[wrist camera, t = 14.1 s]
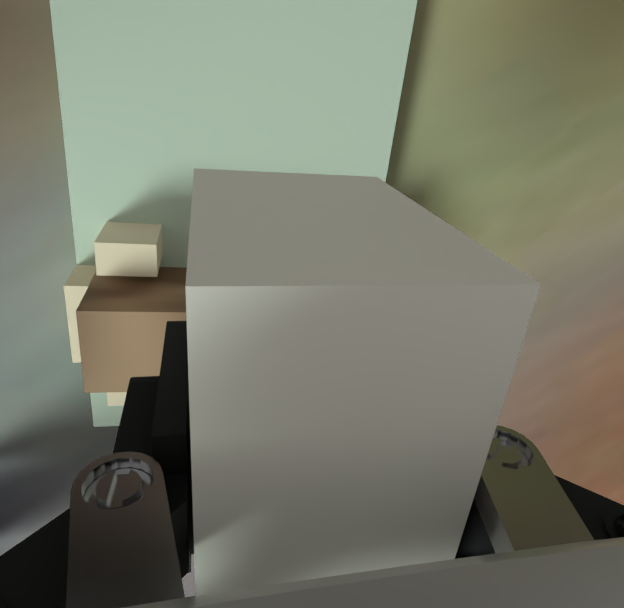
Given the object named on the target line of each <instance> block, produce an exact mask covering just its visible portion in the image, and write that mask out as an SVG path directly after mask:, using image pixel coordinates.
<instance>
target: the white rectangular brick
mask: <svg viewBox="0 0 624 608" xmlns="http://www.w3.org/2000/svg"><path fill="white" fill-rule="evenodd" d="M540 287H541V284H540V283H538V282H537V281H535V280H533V279H532V278H530V277H529V276H527V275H526V274H524V273H523V272H521V271H520V270H518V269H517V268H515V267H514V266H512V265H511V264H509V263H508V262H506V261H504V260H503V259H501V258H500V257H498V256H497V255H495V254H494V253H492V252H491V251H489V250H488V249H486V248H485V247H483V246H482V245H480V244H479V243H477V242H475V241H474V240H472V239H471V238H469V237H468V236H466V235H465V234H463V233H462V232H460V231H459V230H457V229H456V228H454V227H453V226H451V225H450V224H448V223H446V222H445V221H443V220H442V219H440V218H439V217H437V216H436V215H434V214H433V213H431V212H430V211H428V210H427V209H425V208H424V207H422V206H421V205H419V204H417V203H416V202H414V201H413V200H411V199H410V198H408V197H407V196H405V195H404V194H402V193H401V192H399V191H398V190H396V189H395V188H393V187H392V186H390V185H388V184H387V183H385V182H384V181H382V180H381V179H379V178H378V177H368V176H347V175H325V174H303V173H282V172H260V171H238V170H217V169H195V168H194V176H193V190H192V203H191V217H190V231H189V244H188V258H187V272H186V285H185V289H186V320H187V350H188V380H189V411H190V441H191V471H192V502H193V532H194V562H195V593H196V596H200V595H207V594H213V593H220V592H227V591H234V590H241V589H248V588H254V587H261V586H268V585H275V584H282V583H289V582H295V581H302V580H309V579H316V578H323V577H330V576H337V575H344V574H351V573H358V572H365V571H372V570H379V569H386V568H393V567H401V566H408V565H415V564H422V563H429V562H436V561H444V560H451V559H455V556H456V553H457V550H458V547H459V543H460V540H461V537H462V534H463V531H464V528H465V524H466V521H467V518H468V515H469V512H470V509H471V505H472V502H473V499H474V496H475V493H476V490H477V486H478V483H479V480H480V477H481V474H482V471H483V467H484V464H485V461H486V458H487V455H488V452H489V448H490V445H491V442H492V439H493V436H494V433H495V429H496V426H497V423H498V420H499V417H500V414H501V410H502V407H503V404H504V401H505V398H506V395H507V391H508V388H509V385H510V382H511V379H512V376H513V372H514V369H515V366H516V363H517V360H518V357H519V353H520V350H521V347H522V344H523V341H524V338H525V334H526V331H527V328H528V325H529V322H530V318H531V315H532V312H533V309H534V306H535V303H536V299H537V296H538V293H539V290H540Z"/></svg>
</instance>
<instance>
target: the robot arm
mask: <svg viewBox="0 0 624 608" xmlns="http://www.w3.org/2000/svg"><path fill="white" fill-rule="evenodd" d="M191 554H194V532H193V502H192V471H191V441H190V411H189V380H188V350H187V321H167V323H166V331H165V338H164V346H163V353H162V360H161V368H160V375H159V376H145V377H131V378H130V381H129V385H128V389H127V394H126V398H125V402H124V407H123V411H122V416H121V420H120V425H119V429H118V433H117V438H116V442H115V447H114V451H113V454H110V455H107V456H104V457H102V458H100V459H98V460H96V461H94V462H92V463H90V464H89V465H88V466H87V467H86V468H84V469H83V470H82V471H81V472H80V473H79V475H78V476H77V478H76V479H75V480H74V482H73V486H72V490H71V499H70V508H69V509H68V510H66V511H65V512H64V513H62V514H61V515H59V516H58V517H56V518H55V519H53V520H52V521H51V522H49V523H48V524H46V525H45V526H43V527H42V528H40V529H39V530H38V531H36V532H35V533H33V534H32V535H30V536H29V537H27V538H26V539H25V540H23V541H22V542H20V543H19V544H17V545H16V546H14V547H13V548H12V549H10V550H9V551H7V552H6V553H4V554H3V555H1V556H0V608H624V505H621V504H619V503H617V502H615V501H612V500H610V499H608V498H605V497H603V496H601V495H599V494H596V493H594V492H592V491H589V490H587V489H585V488H583V487H580V486H578V485H576V484H573V483H571V482H569V481H567V480H564V479H562V478H560V477H557V476H555V475H554V474H553V472H552V471H551V469H550V467H549V466H548V464H547V463H546V461H545V459H544V458H543V456H542V455H541V453H540V451H539V450H538V449H537V447H536V446H535V445H534V444H533V443H532V442H531V441H530V440H529V439H527V438H526V437H525V436H524V435H522V434H520V433H518V432H516V431H514V430H512V429H509V428H506V427H503V426H498V425H497V426H496V429H495V433H494V436H493V439H492V442H491V445H490V448H489V452H488V455H487V458H486V461H485V464H484V467H483V471H482V474H481V477H480V480H479V483H478V486H477V490H476V493H475V496H474V499H473V502H472V505H471V509H470V512H469V515H468V518H467V521H466V524H465V528H464V531H463V534H462V537H461V540H460V543H459V547H458V550H457V553H456V556H455V559H451V560H444V561H436V562H429V563H422V564H415V565H408V566H401V567H393V568H386V569H379V570H372V571H365V572H358V573H351V574H344V575H337V576H330V577H323V578H316V579H309V580H302V581H295V582H289V583H282V584H275V585H268V586H261V587H254V588H248V589H241V590H234V591H227V592H220V593H213V594H207V595H200V596H193V597H186V598H185V595H184V590H183V584H182V578H183V577H184V576H185V575H186V574H187V573H189V572H191Z"/></svg>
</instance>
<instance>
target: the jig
mask: <svg viewBox="0 0 624 608" xmlns="http://www.w3.org/2000/svg"><path fill="white" fill-rule="evenodd" d="M416 6H417V0H50V9H51V19H52V29H53V38H54V48H55V58H56V67H57V77H58V87H59V96H60V106H61V116H62V125H63V135H64V145H65V154H66V164H67V174H68V183H69V193H70V203H71V212H72V222H73V232H74V241H75V251H76V261H77V265H76V267H75V269H74V270H73V272H72V273H71V275H70V277H69V278H68V280H67V281H66V283H65V284H64V293H65V301H66V310H67V318H68V327H69V335H70V343H71V352H72V360H73V362H81V355H80V346H79V336H78V327H77V318H76V310H77V308H78V306H79V304H80V302H81V300H82V298H83V296H84V294H85V292H86V290H87V289H88V287H89V285H90V283H91V281H92V279H93V277H94V275H95V273H96V274H97V275H99V276H137V277H157V276H158V271H159V267H180V268H187V258H188V244H189V231H190V217H191V203H192V190H193V176H194V168H195V169H217V170H238V171H260V172H282V173H303V174H325V175H347V176H368V177H378V178H379V179H381V180H382V181H384V182H386V176H387V170H388V165H389V159H390V153H391V148H392V142H393V136H394V130H395V125H396V119H397V113H398V108H399V102H400V96H401V91H402V85H403V79H404V74H405V68H406V62H407V57H408V51H409V45H410V40H411V34H412V28H413V23H414V17H415V11H416ZM126 394H127V392H106V393H90V396H91V406H92V416H93V425H94V427H104V426H119V425H120V420H121V416H122V411H123V407H124V402H125V398H126Z"/></svg>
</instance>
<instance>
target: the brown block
mask: <svg viewBox="0 0 624 608" xmlns="http://www.w3.org/2000/svg"><path fill="white" fill-rule="evenodd" d="M186 272H187V268H180V267H159V271H158V276H157V277H137V276H99V275H97V274H96V273H95V275H94V277H93V279H92V281H91V283H90V285H89V287H88V289H87V290H86V292H85V294H84V296H83V298H82V300H81V302H80V304H79V306H78V308H77V310H76V318H77V327H78V336H79V346H80V355H81V364H82V374H83V383H84V392H85V393H106V392H127V389H128V385H129V381H130V378H131V377H145V376H159V375H160V368H161V360H162V353H163V346H164V338H165V331H166V323H167V321H187V320H186V289H185V285H186Z"/></svg>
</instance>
